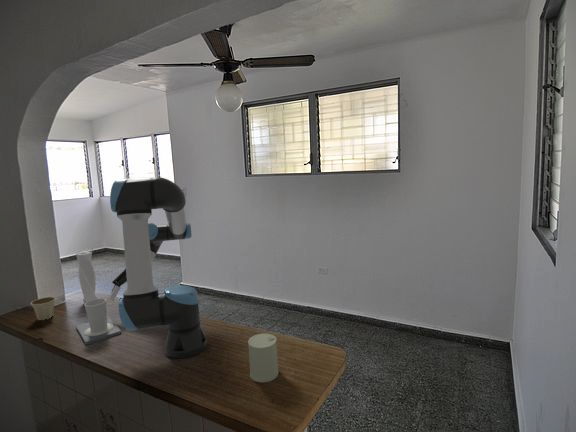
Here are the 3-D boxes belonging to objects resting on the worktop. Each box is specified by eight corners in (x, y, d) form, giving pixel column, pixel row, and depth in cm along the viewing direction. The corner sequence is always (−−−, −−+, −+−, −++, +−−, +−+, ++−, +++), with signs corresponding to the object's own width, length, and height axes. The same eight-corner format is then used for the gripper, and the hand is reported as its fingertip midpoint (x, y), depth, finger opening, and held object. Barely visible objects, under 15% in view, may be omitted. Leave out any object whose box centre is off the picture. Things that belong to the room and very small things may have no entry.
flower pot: (62, 314, 166) (59, 297, 165) (45, 322, 157) (42, 304, 156) (45, 313, 168) (43, 296, 167) (28, 322, 159) (25, 304, 157)
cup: (93, 335, 139) (89, 307, 138) (85, 330, 144) (81, 303, 142) (113, 327, 146) (109, 300, 144) (104, 323, 150) (100, 297, 149)
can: (281, 378, 108) (280, 343, 106) (252, 385, 105) (250, 348, 104) (274, 363, 117) (272, 329, 115) (247, 368, 114) (245, 334, 112)
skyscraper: (96, 295, 189) (90, 246, 185) (101, 299, 184) (94, 248, 180) (80, 300, 183) (73, 249, 179) (84, 303, 178) (77, 251, 174)
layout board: (121, 333, 143) (121, 330, 143) (86, 344, 135) (85, 341, 135) (108, 318, 158) (108, 315, 158) (76, 328, 150) (75, 325, 150)
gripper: (169, 266, 162) (149, 310, 152) (129, 259, 171) (107, 300, 161) (160, 260, 156) (138, 304, 146) (119, 252, 165) (96, 294, 155)
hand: (122, 302), depth 154 cm, fingers open, 13 cm apart
